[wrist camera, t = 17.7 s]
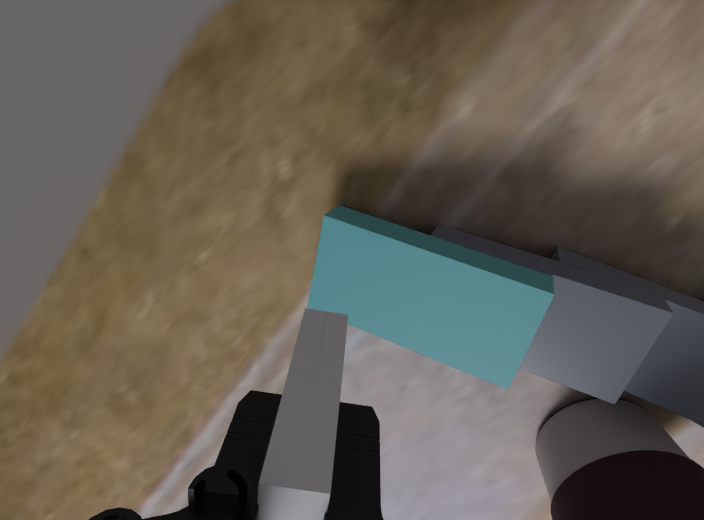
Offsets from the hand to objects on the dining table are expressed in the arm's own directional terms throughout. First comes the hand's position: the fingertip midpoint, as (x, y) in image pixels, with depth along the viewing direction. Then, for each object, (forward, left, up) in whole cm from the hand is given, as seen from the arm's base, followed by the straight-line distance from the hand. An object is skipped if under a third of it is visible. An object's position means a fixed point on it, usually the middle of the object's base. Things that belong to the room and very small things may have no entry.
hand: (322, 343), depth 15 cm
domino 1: (-1, 0, -6) cm, 6 cm away
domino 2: (+4, 0, -7) cm, 8 cm away
